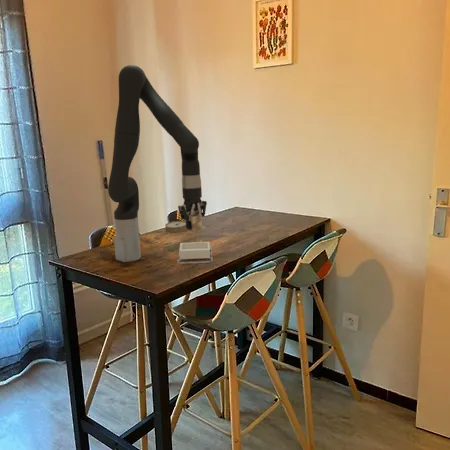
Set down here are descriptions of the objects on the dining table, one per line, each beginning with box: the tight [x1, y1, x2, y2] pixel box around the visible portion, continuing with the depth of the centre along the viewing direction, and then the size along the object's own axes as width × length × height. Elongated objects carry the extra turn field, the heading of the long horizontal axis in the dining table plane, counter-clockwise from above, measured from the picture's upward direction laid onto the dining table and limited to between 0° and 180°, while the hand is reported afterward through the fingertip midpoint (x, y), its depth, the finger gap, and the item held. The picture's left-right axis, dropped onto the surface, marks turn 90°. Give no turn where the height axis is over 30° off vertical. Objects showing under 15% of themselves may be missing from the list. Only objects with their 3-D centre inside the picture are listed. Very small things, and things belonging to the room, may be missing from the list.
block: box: [186, 213, 203, 232], centre depth 188 cm, size 4×4×6 cm
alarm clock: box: [163, 218, 188, 234], centre depth 237 cm, size 11×5×15 cm
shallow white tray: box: [177, 241, 213, 260], centre depth 190 cm, size 12×13×4 cm
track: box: [176, 243, 214, 265], centre depth 195 cm, size 25×14×1 cm, turn 3°
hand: (194, 228), depth 188 cm, fingers closed on block, 4 cm apart
